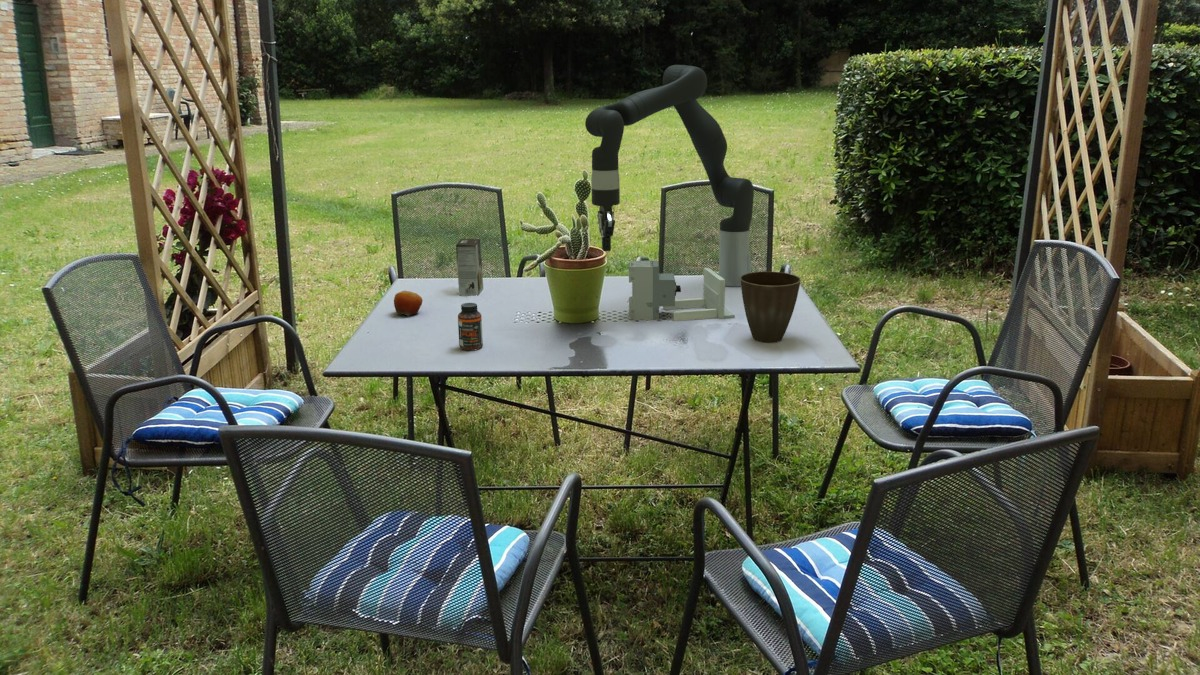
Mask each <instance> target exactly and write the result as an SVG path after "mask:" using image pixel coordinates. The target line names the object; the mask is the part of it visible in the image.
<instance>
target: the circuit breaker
mask: <svg viewBox="0 0 1200 675" xmlns="http://www.w3.org/2000/svg"><path fill="white" fill-rule="evenodd" d="M628 283H631V286H632V287H631V289H632V290H631V292H632V293H631V294H632V296H631V295H630V296H628V317H629V318H628V320H629V321H631V320H634V321H635V320H636V321H642V320H643V321H645V320H646V321H651V320H653V321H654V320H657V321H658V320H660V307H663V306H675V300H676V295H677V293H681V292H682V288H681V285H679V284H678V285H677V281H676V278H675V274H674V273H672V272H671V273H660V265H659V260H629V264H628Z"/></svg>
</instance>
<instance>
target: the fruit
mask: <svg viewBox="0 0 1200 675" xmlns="http://www.w3.org/2000/svg"><path fill="white" fill-rule="evenodd" d="M422 304H423V298H422V296H421V295H419V294H418V293H417V292H413V291H409V290H402V291H400V292H397V293H395V295H394V298H393V307H394V308H395V312H396V315H397V316H401V315H406V316H407V317H409V318H410V315H415V314H418V313H419V310H420V308H421V306H422Z"/></svg>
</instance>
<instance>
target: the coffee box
mask: <svg viewBox="0 0 1200 675" xmlns="http://www.w3.org/2000/svg"><path fill="white" fill-rule="evenodd" d="M481 245H482V244H481V238H460V239H459V240H458V242H457V243H456V244H455V249H456V250H455V252H456V262H457V263H456V264H457V265H456V266H457V280H458V282H457V283H458V284H457V285H458V295H459V297H461V296H462V297H464V296H466V297H467V296H470V297H471V296H475V297H478V295H479V296H480V294H481V293H482V292H483V290H484V279H483V278H484V277H483V276H484V275H483V262H482V261H483V260H482V258H483V257H482V246H481ZM476 295H477V296H476Z"/></svg>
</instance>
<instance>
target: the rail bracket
mask: <svg viewBox="0 0 1200 675" xmlns="http://www.w3.org/2000/svg"><path fill="white" fill-rule="evenodd" d="M702 285H703V288H702V291H703V292H702V294H703V295H702V296H703V297H700V298H699V297H698V298H685V299H682V298H681V299H675V306H662V309H663V310H664V311H667V310H675V311H673V312H672V314H673V315H672V317H673V319H672V320H673V322H679V321H680V322H681V321H693V320H694V321H695V319H696V320H706V319H709V320H710V319H719V320H722V319H723V320H724V319H735V314H734V313H733V312H732V311H730V310H729V309H728V308H727V307H726V306H725V304H726V302H725V298H726V286H725V279H723V278H722V277H721V276H719V273H717V272H715V270H713V269H711V268H710V267H703V284H702ZM697 307H698V308H705V309H698V308H697ZM682 308H684V309H687V310H682ZM696 308H697V309H696ZM688 309H689V310H688ZM676 310H678V311H676Z"/></svg>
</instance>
